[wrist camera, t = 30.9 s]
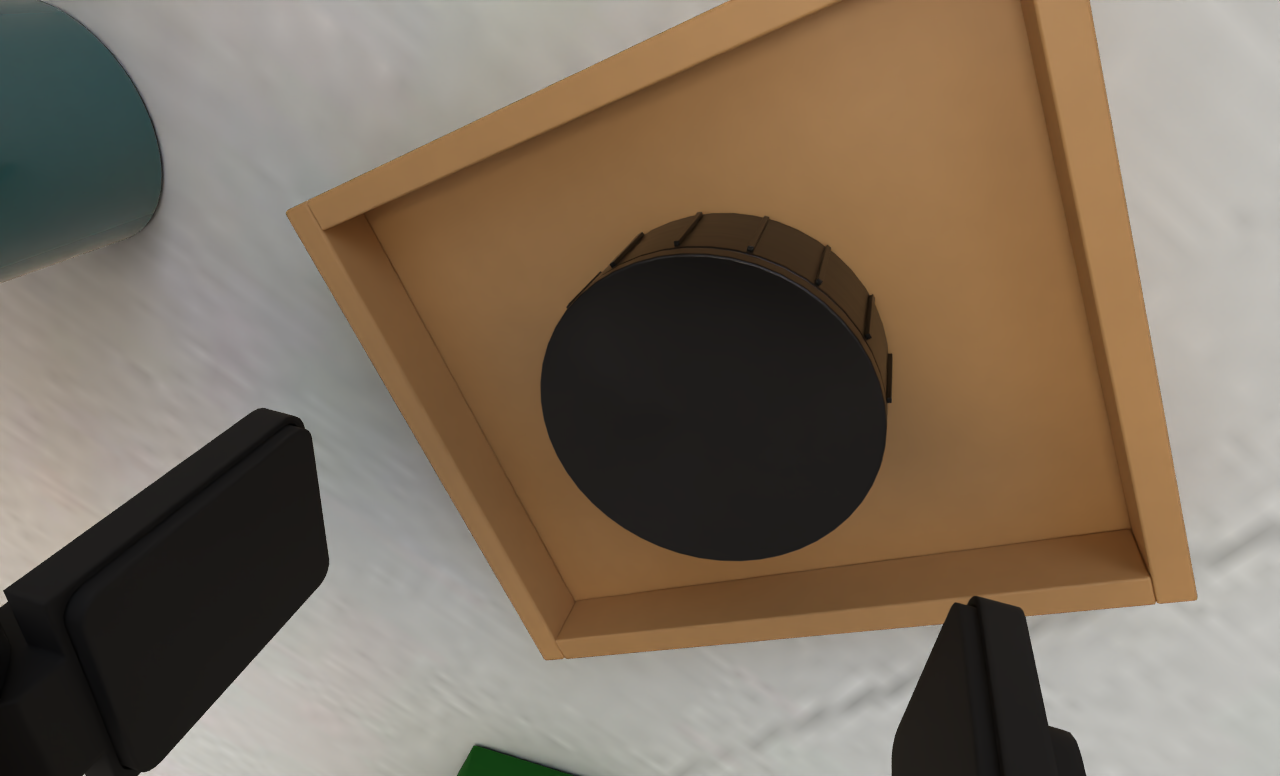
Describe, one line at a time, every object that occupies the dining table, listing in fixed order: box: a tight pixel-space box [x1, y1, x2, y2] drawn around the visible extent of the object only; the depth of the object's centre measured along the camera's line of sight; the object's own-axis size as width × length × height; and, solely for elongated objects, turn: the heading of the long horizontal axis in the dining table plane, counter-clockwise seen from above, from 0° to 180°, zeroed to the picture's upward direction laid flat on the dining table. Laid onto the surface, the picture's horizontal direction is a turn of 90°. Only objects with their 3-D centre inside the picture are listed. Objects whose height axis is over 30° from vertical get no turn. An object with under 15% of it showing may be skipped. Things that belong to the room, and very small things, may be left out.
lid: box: [540, 212, 893, 561], centre depth 16 cm, size 7×7×3 cm
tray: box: [286, 0, 1197, 660], centre depth 17 cm, size 15×13×2 cm
